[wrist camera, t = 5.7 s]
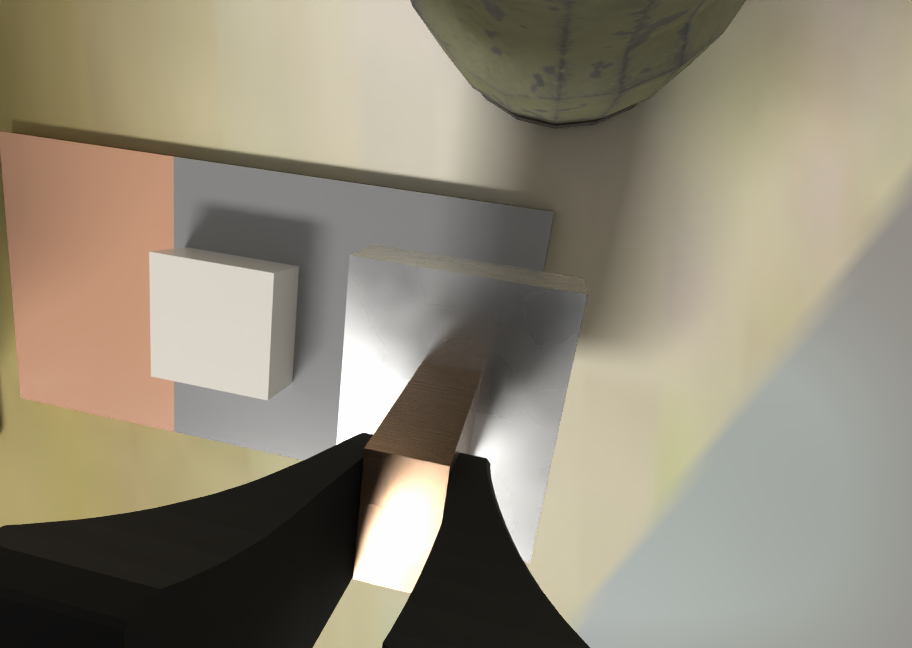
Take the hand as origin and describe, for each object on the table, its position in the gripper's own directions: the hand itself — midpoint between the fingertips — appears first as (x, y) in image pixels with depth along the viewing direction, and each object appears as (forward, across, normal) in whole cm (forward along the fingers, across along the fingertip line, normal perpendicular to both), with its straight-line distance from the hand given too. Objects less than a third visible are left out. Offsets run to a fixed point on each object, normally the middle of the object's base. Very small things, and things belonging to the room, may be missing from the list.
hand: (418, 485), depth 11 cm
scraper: (+5, 0, 0) cm, 5 cm away
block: (+9, +10, 0) cm, 14 cm away
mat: (+10, +10, 0) cm, 14 cm away
